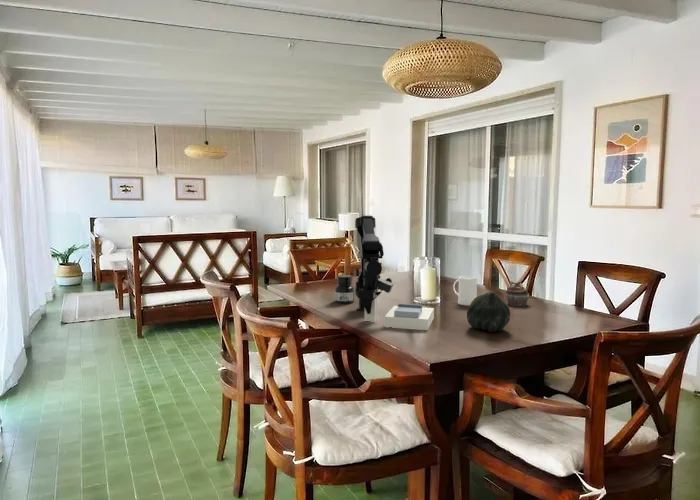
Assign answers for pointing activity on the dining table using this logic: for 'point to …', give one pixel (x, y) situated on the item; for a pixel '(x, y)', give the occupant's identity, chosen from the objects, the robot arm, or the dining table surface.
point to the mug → (466, 289)
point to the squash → (488, 312)
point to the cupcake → (517, 294)
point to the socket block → (410, 320)
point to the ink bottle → (344, 289)
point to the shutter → (408, 310)
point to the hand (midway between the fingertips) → (370, 312)
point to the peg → (372, 312)
